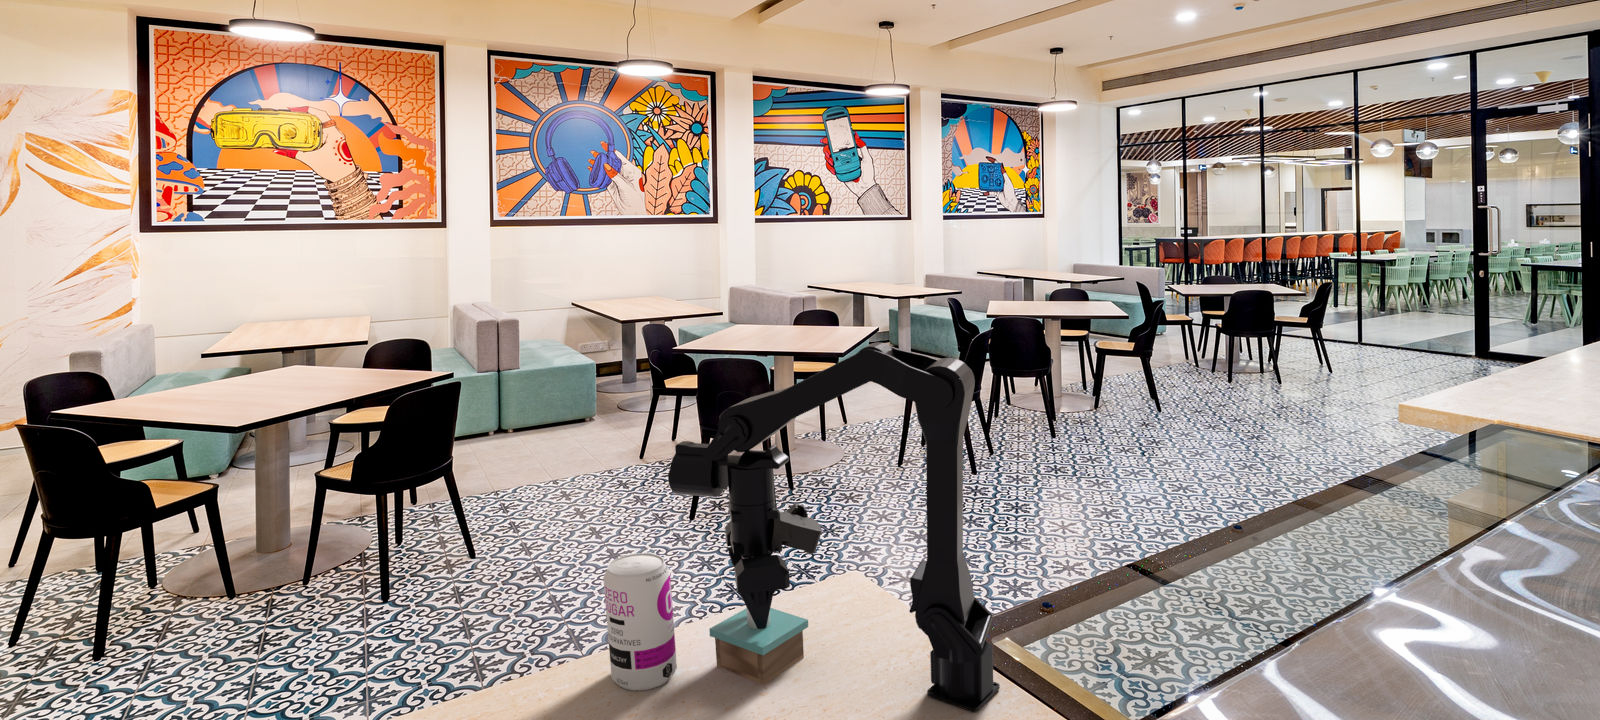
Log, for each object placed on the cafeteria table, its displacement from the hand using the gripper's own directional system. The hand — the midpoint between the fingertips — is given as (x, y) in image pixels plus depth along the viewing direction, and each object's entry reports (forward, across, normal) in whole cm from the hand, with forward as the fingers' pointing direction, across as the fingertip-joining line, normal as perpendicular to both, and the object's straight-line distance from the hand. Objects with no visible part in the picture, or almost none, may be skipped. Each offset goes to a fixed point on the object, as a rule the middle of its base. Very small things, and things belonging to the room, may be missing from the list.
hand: (758, 615), depth 110 cm
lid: (+2, 0, 0) cm, 2 cm away
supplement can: (+7, 0, +15) cm, 16 cm away
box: (+7, 0, 0) cm, 7 cm away
